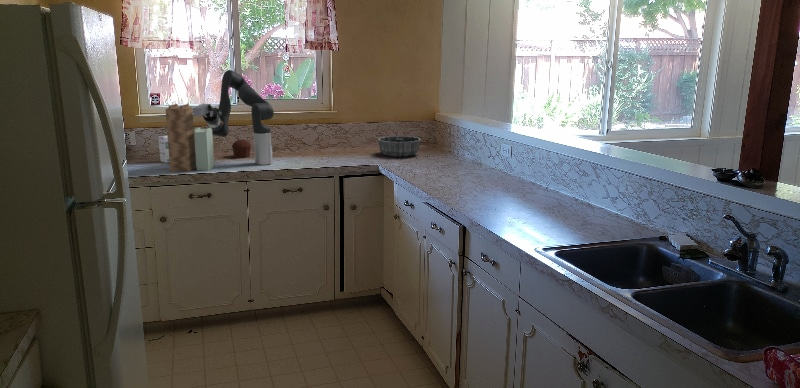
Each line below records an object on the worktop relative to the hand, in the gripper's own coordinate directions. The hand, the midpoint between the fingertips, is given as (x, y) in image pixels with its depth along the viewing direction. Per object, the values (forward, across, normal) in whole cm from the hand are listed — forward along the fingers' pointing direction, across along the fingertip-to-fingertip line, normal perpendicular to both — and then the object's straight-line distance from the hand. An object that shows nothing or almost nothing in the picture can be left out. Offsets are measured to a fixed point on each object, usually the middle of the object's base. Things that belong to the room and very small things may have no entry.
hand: (204, 106), depth 318 cm
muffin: (-43, +12, +13) cm, 46 cm away
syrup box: (-29, -26, +21) cm, 44 cm away
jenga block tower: (-10, -11, +32) cm, 35 cm away
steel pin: (+2, 0, +5) cm, 6 cm away
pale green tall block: (-11, 0, +31) cm, 33 cm away
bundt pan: (-50, +105, +9) cm, 117 cm away
